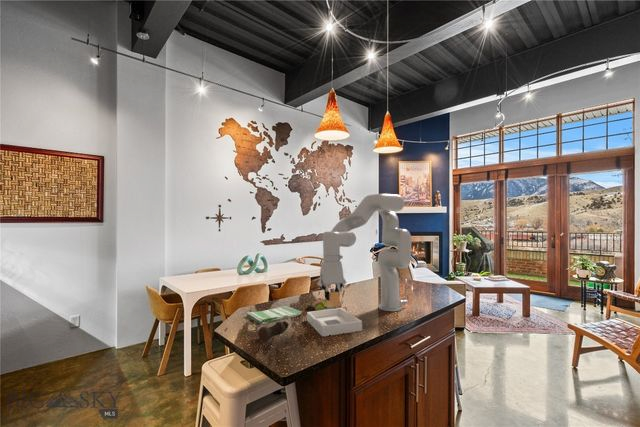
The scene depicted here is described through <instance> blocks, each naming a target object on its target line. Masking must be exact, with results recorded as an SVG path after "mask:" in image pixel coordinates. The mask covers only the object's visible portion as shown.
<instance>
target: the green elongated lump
mask: <svg viewBox="0 0 640 427" xmlns="http://www.w3.org/2000/svg"><path fill="white" fill-rule="evenodd" d="M311 307H312V309H314V311H320V310H328V309H336V308H339V306H334V307H327V300H326V298H321V297H318V298H313V299H312V300H311V301H309V303H307V305H306V308H307V309H309V308H311Z"/></svg>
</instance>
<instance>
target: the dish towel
mask: <svg viewBox="0 0 640 427" xmlns="http://www.w3.org/2000/svg"><path fill="white" fill-rule="evenodd" d="M302 313H303V311H302V310H298V309H296V308H293V307H291V306H288V305H283V306H279V307H275V308H270V309H267V310H266V309H265V310H260V311H259V310H258V311H252V312H251V311H248V312H246V315H247V316H246V317H247V318H249V319H250V318H251V320H252V321H254V322H255V323H257V322H258V323H257V324H259V325H261V326H263V325H265V324H270V323H274V322H278V321H282V320H286V319H290V318H294V317H298V316H301V315H302Z"/></svg>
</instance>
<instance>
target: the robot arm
mask: <svg viewBox="0 0 640 427" xmlns="http://www.w3.org/2000/svg"><path fill="white" fill-rule="evenodd" d="M404 206H405V199H404V198H403V197H402V196H401V195H399V194H393V193H392V194H391V193H373V194H369V195H366V196H365V197H364V198H363V199H362V200H361V201H360V203H359V204H358V205H357V206H356V208H355V209H354V210H353V212H352V213H350V214H348V215H347V216H346V217H343V219H341V220H340V221H339V222H337V223H336V224H335V225H334V227H333V228H332V229H331V231H325V232H323V234H322V248H323V249H322V251H323V252H322V253H323V256H322V258H323V259H322V260H323V261H321V263H320V270H319V271H320V272H319V280H318V282H317V283H316V285H317V287H320V288H321V289H322V290H323V291H324V299H326V301H327V300H329V293H330V290H329V286H330V285H334V287H335V289H334V292H339V298H340V297H341V296H340V294H341V293H340V291H341V289H342V288H343V286H344V285H346V284H347V281H346V279H345V277H344V270H343V264H342V261H341V259H343V257H344V256H343V255H341V253H340V252H341V250H340V249H341V247H344V248H349V247H353V246H354V244H356V240H357V237H356V234H355V233H354V232H353V230H354V229H358V228H360V227H362V226H365V225H366V224H367V223H368V221H369V220H370V219H371V217H372V216H373V214H374V213H375V212H378V213H379V215H380V217H381V219H382V230H381V231H382V232H381V242H382V244H383V245H384V246H386V247H395V248H396V249H395V248H383V249H382V250H380V251H379V253H378V254H377V260H378V265H379V266H378V267H379V271H380V274H379V275H380V304H379V305H378V309H379V310H381V311H384V312H400V311H402V310H403V309H404V306H403V305H404V304H408V300H407V299H401V298H400V282H399V281H400V278H399V277H400V275H399V272H398V269H406V268H408V267H409V266H410V264H411V260H412V259H411V256H412V236H411V232H409V230H408V229H405V228H400V225H399V217H398V215H397V213H396V212H400V211H402V210H403V209H404Z"/></svg>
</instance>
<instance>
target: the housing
mask: <svg viewBox="0 0 640 427" xmlns="http://www.w3.org/2000/svg"><path fill="white" fill-rule="evenodd" d="M306 321H307V322H308V323H309V325H311V326H312V327H313V328H314V329H315V331H316V332H317V333H318V334H319V335H320V336H321V337H323V336H324V337H328V336H329V335H331V336H336V335H342V334H343V333H344V334H349V333H354V332H356V331H357V332H362V331H363V320H361V319H360V318H358V317H356V316H354V314H351V313H350V312H348V311H347V310H346V309H344V308H343V307H338V308H336V309H328V310H320V311H316V310H314V311H313V310H312V311H307V312H306ZM324 337H323V338H324ZM329 337H330V336H329Z"/></svg>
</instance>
